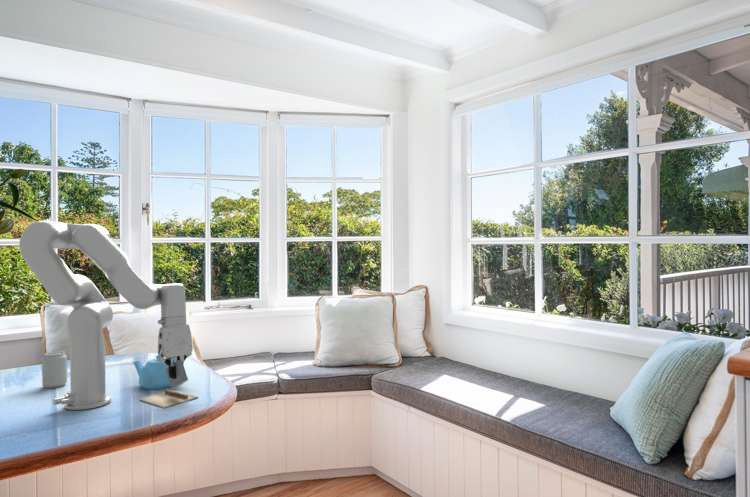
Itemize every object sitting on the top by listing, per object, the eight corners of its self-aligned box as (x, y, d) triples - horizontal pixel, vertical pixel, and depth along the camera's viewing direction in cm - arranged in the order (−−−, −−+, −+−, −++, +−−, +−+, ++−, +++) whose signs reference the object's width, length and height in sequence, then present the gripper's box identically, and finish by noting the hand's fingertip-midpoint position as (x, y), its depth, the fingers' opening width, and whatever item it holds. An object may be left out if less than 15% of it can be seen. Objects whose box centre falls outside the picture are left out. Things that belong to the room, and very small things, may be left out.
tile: (183, 381, 154) (177, 360, 156) (171, 389, 158) (165, 369, 160) (188, 379, 155) (181, 359, 157) (176, 388, 159) (169, 368, 161)
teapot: (139, 393, 163) (139, 362, 163) (133, 383, 175) (133, 354, 175) (186, 386, 171) (186, 356, 171) (177, 377, 184) (177, 349, 184)
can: (37, 387, 172) (37, 353, 172) (59, 382, 179) (59, 349, 179) (49, 389, 169) (49, 355, 169) (71, 384, 175) (71, 351, 175)
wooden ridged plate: (163, 408, 147) (163, 403, 147) (139, 400, 155) (139, 395, 155) (197, 398, 157) (197, 393, 157) (173, 391, 165) (173, 386, 165)
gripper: (157, 325, 149) (159, 384, 149) (201, 318, 162) (203, 373, 162) (144, 324, 154) (146, 381, 154) (188, 317, 166) (190, 370, 166)
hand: (175, 377), depth 158 cm, fingers closed on tile, 1 cm apart
